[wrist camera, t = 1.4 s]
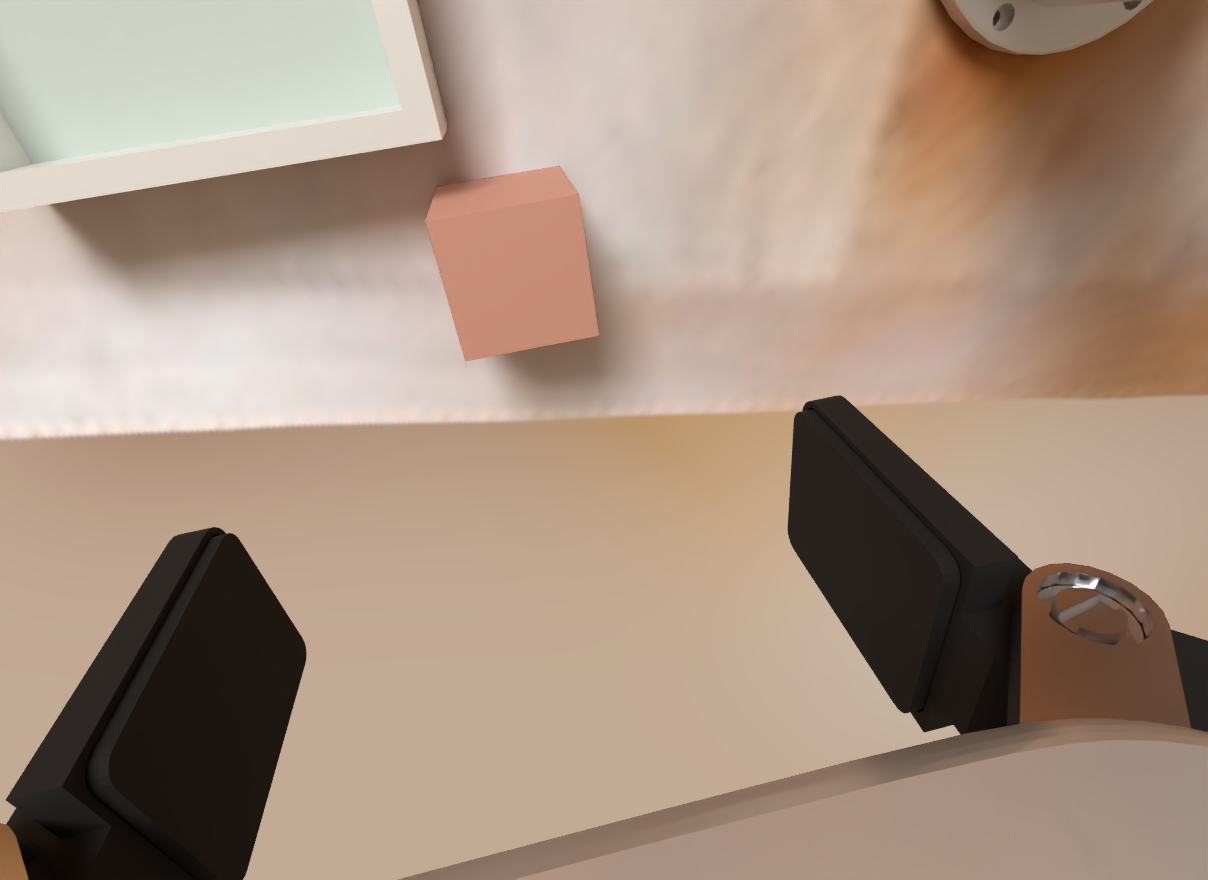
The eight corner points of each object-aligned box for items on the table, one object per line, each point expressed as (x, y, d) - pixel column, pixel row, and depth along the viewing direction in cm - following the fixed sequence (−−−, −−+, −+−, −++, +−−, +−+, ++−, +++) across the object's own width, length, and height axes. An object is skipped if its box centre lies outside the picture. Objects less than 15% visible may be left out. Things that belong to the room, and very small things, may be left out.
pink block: (559, 165, 24) (579, 194, 19) (577, 283, 27) (598, 335, 22) (437, 186, 24) (424, 221, 19) (468, 303, 27) (465, 361, 22)
